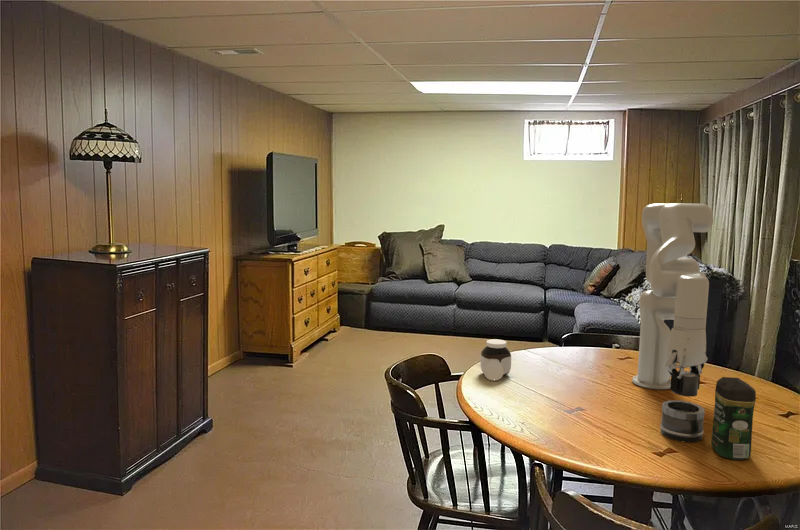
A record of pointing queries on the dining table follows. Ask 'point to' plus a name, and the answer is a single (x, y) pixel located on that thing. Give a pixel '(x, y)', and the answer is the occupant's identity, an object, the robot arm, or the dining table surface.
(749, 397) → the coffee jar
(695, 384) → the dark grey short cylinder
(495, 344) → the spread jar
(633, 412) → the dining table surface
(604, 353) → the dining table surface
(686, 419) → the lens barrel
